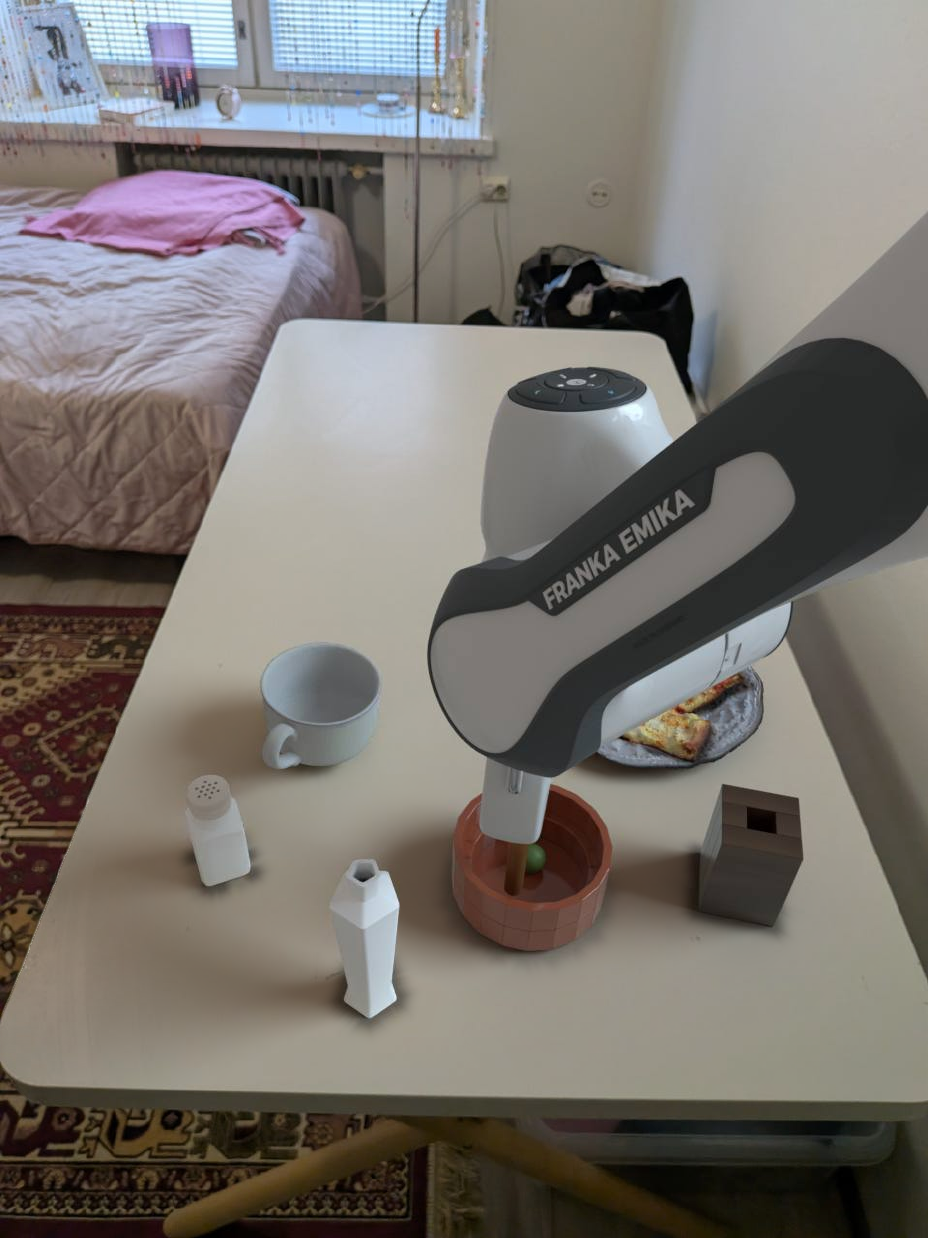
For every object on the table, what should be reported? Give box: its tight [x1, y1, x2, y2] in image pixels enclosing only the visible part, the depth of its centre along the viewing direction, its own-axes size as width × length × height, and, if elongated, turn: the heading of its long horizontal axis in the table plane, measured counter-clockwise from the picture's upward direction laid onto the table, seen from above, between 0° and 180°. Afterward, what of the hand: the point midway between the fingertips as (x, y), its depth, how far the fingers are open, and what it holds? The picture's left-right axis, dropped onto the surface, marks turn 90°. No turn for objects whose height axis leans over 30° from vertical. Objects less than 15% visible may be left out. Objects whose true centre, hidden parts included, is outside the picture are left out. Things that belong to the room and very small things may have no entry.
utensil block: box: [698, 783, 805, 927], centre depth 74 cm, size 6×6×9 cm
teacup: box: [259, 641, 382, 770], centre depth 85 cm, size 14×11×8 cm
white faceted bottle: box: [329, 858, 400, 1019], centre depth 64 cm, size 5×4×15 cm
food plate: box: [596, 665, 765, 770], centre depth 94 cm, size 25×23×4 cm
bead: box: [525, 843, 546, 873], centre depth 77 cm, size 2×2×2 cm
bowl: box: [451, 783, 614, 952], centre depth 75 cm, size 12×12×6 cm
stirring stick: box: [504, 842, 529, 896], centre depth 68 cm, size 2×2×18 cm
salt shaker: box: [184, 773, 252, 887], centre depth 74 cm, size 4×4×10 cm
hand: (527, 774), depth 65 cm, fingers closed on stirring stick, 2 cm apart
